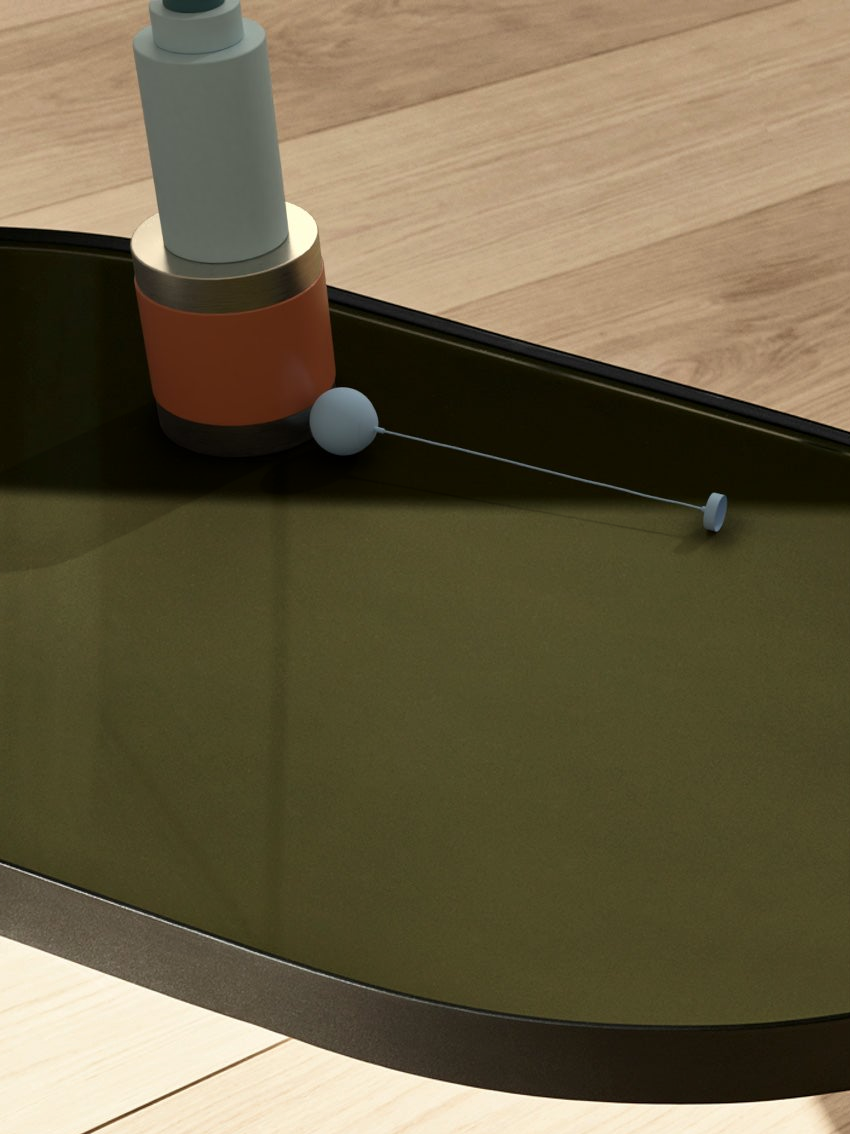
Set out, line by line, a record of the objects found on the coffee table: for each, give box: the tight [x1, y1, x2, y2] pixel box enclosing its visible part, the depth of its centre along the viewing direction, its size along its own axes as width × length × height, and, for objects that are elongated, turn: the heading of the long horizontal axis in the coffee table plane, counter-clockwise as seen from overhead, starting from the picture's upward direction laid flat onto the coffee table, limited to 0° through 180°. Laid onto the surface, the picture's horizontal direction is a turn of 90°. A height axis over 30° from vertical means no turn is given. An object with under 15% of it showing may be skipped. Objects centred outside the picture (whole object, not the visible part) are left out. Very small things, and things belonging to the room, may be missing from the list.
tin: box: [129, 200, 337, 458], centre depth 106 cm, size 9×9×9 cm
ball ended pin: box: [310, 386, 728, 532], centre depth 103 cm, size 3×20×3 cm, turn 69°
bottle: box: [132, 0, 289, 263], centre depth 99 cm, size 6×6×12 cm
